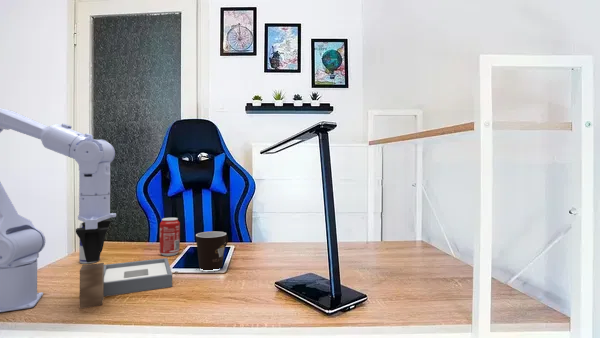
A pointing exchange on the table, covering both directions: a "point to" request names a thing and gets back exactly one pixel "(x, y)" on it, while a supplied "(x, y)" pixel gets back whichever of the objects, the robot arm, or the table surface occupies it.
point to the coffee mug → (211, 249)
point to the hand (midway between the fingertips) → (94, 256)
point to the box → (136, 276)
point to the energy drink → (82, 252)
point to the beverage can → (169, 236)
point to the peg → (91, 285)
